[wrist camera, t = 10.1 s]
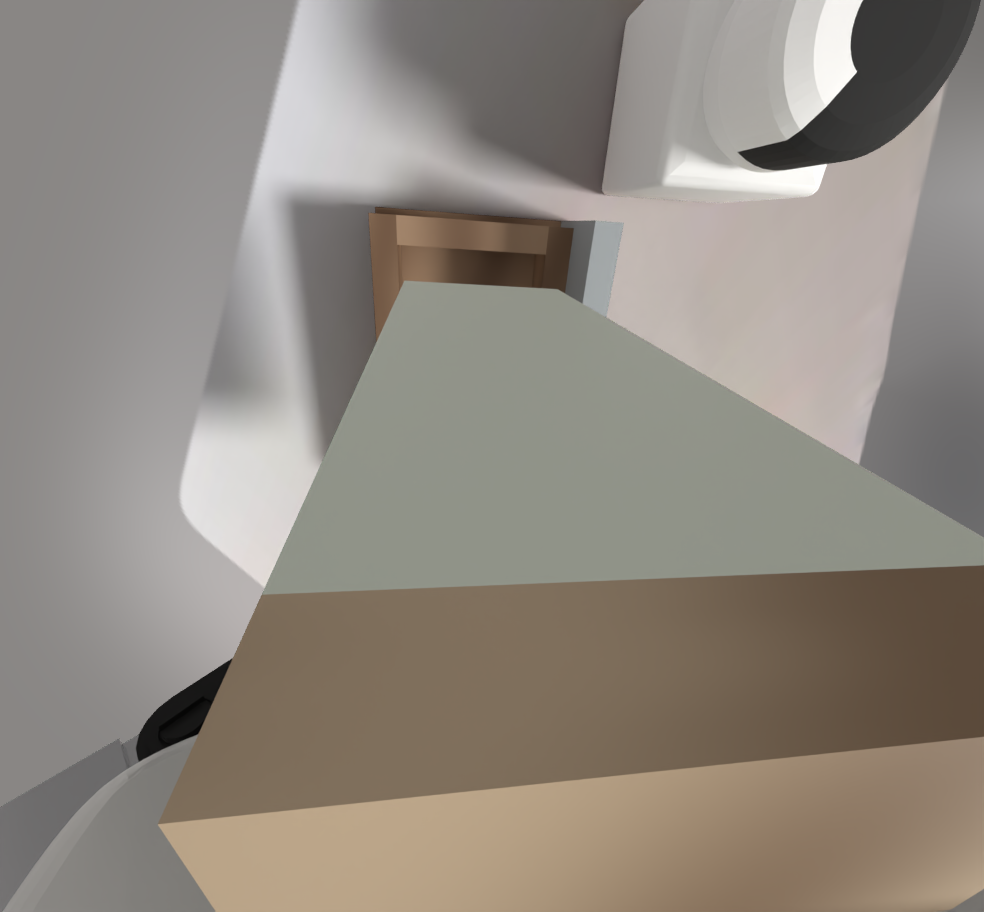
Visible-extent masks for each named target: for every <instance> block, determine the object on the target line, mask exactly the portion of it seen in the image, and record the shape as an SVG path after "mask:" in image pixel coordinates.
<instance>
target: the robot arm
mask: <svg viewBox="0 0 984 912" xmlns="http://www.w3.org/2000/svg"><path fill="white" fill-rule="evenodd" d="M232 659H233V658H232ZM232 659H231V660H230V661H228V662H226V663H224V664H223V665H221V666H220V667H218V668H217V669H215V670H214V671H212V672H211V673H209V674H208V675H206V676H204V677H203V678H201V679H200V680H198V681H197V682H195V683H194V684H192V685H190V686H189V687H187V688H186V689H184V690H183V691H181V692H180V693H178V694H177V695H175V696H173V697H172V698H171V699H169V700H168V701H167V702H165V703H164V704H163V705H162V706H160V707H159V708H158V709H157V710H156V711H155V712H154V713H153V715H152V716H151V717H150V718H149V719H148V720H147V722H146V723H145V725H144V727H143V729H142V730H141V732H140V734H139V735H137V736H135V737H133V738H132V739H130V740H128V741H127V742H125V743H123V744H122V742H121V741H120V739H117V740H116V741H114V742H112V743H110V744H108V745H107V746H105V747H103V748H102V749H100V750H98V751H96V752H95V753H93V754H91V755H89V756H88V757H86V758H84V759H82V760H81V761H79V762H77V763H76V764H74V765H72V766H70V767H69V768H67V769H65V770H63V771H62V772H60V773H58V774H56V775H55V776H53V777H51V778H49V779H48V780H46V781H44V782H42V783H41V784H39V785H37V786H36V787H34V788H32V789H30V790H29V791H27V792H25V793H23V794H22V795H20V796H18V797H16V798H15V799H13V800H11V801H9V802H8V803H6V804H4V805H3V806H1V807H0V912H216V911H215V910H214V908H213V907H212V905H211V904H210V902H209V901H208V899H207V898H206V896H205V895H204V893H203V892H202V890H201V889H200V887H199V886H198V884H197V883H196V881H195V880H194V878H193V877H192V875H191V874H190V872H189V871H188V869H187V868H186V866H185V865H184V863H183V862H182V860H181V859H180V857H179V856H178V854H177V853H176V851H175V850H174V848H173V847H172V845H171V844H170V842H169V841H168V839H167V838H166V836H165V835H164V833H163V832H162V830H161V829H160V827H159V826H158V822H159V820H160V818H161V816H162V814H163V811H164V809H165V807H166V805H167V803H168V800H169V798H170V796H171V794H172V792H173V789H174V787H175V785H176V783H177V781H178V778H179V776H180V774H181V772H182V769H183V767H184V765H185V763H186V761H187V758H188V756H189V754H190V752H191V750H192V747H193V745H194V743H195V741H196V739H197V736H198V734H199V732H200V730H201V728H202V725H203V723H204V721H205V719H206V717H207V714H208V712H209V710H210V708H211V706H212V703H213V701H214V699H215V697H216V695H217V692H218V690H219V688H220V686H221V684H222V681H223V679H224V677H225V675H226V673H227V670H228V668H229V666H230V664H231V662H232ZM938 912H984V889H983V890H981V891H980V892H978V893H976V894H975V895H973V896H972V897H970V898H969V899H967V900H965V901H964V902H962V903H961V904H959V905H957V906H956V907H954V908H953V909H950V910H944V911H938Z"/></svg>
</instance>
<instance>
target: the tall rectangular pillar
mask: <svg viewBox="0 0 984 912" xmlns="http://www.w3.org/2000/svg"><path fill="white" fill-rule="evenodd" d="M158 826H159V827H160V829H161V830H162V832H163V833H164V835H165V836H166V838H167V839H168V841H169V842H170V844H171V845H172V847H173V848H174V850H175V851H176V853H177V854H178V856H179V857H180V859H181V860H182V862H183V863H184V865H185V866H186V868H187V869H188V871H189V872H190V874H191V875H192V877H193V878H194V880H195V881H196V883H197V884H198V886H199V887H200V889H201V890H202V892H203V893H204V895H205V896H206V898H207V899H208V901H209V902H210V904H211V905H212V907H213V908H214V910H215V911H216V912H938V911H944V910H950V909H953V908H954V907H956V906H957V905H959V904H961V903H962V902H964V901H965V900H967V899H969V898H970V897H972V896H973V895H975V894H976V893H978V892H980V891H981V890H983V889H984V538H983V537H982V536H980V535H978V534H977V533H975V532H973V531H971V530H970V529H968V528H966V527H964V526H963V525H961V524H959V523H958V522H956V521H954V520H953V519H950V518H949V517H947V516H945V515H944V514H942V513H941V512H939V511H937V510H935V509H934V508H932V507H930V506H928V505H927V504H925V503H923V502H922V501H920V500H918V499H917V498H915V497H913V496H911V495H910V494H908V493H906V492H905V491H903V490H901V489H899V488H898V487H896V486H894V485H893V484H891V483H889V482H887V481H886V480H884V479H882V478H881V477H879V476H877V475H875V474H873V473H872V472H870V471H869V470H867V469H865V468H863V467H862V466H860V465H858V464H857V463H855V462H853V461H851V460H850V459H848V458H846V457H845V456H843V455H841V454H839V453H838V452H836V451H834V450H833V449H831V448H829V447H827V446H826V445H824V444H822V443H821V442H819V441H817V440H815V439H814V438H812V437H810V436H809V435H807V434H805V433H803V432H802V431H800V430H798V429H797V428H795V427H793V426H791V425H790V424H788V423H786V422H785V421H783V420H781V419H779V418H778V417H776V416H774V415H772V414H771V413H769V412H767V411H766V410H764V409H762V408H760V407H759V406H757V405H755V404H754V403H752V402H750V401H748V400H747V399H745V398H743V397H742V396H740V395H738V394H736V393H735V392H733V391H731V390H730V389H728V388H726V387H724V386H723V385H721V384H719V383H718V382H716V381H714V380H712V379H711V378H709V377H707V376H706V375H704V374H702V373H700V372H699V371H697V370H695V369H694V368H692V367H690V366H688V365H687V364H685V363H683V362H682V361H680V360H678V359H676V358H675V357H673V356H671V355H670V354H668V353H666V352H664V351H663V350H661V349H659V348H658V347H656V346H654V345H652V344H651V343H649V342H647V341H646V340H644V339H642V338H640V337H639V336H637V335H635V334H634V333H632V332H630V331H628V330H627V329H625V328H623V327H622V326H620V325H618V324H616V323H615V322H613V321H611V320H610V319H608V318H606V317H604V316H603V315H601V314H599V313H598V312H596V311H594V310H592V309H591V308H589V307H587V306H586V305H584V304H582V303H580V302H579V301H577V300H575V299H574V298H572V297H570V296H568V295H567V294H565V293H563V292H562V291H560V290H558V289H546V288H528V287H509V286H491V285H473V284H455V283H437V282H419V281H404V283H403V285H402V287H401V289H400V292H399V294H398V296H397V298H396V300H395V303H394V305H393V307H392V309H391V311H390V314H389V316H388V318H387V320H386V322H385V325H384V327H383V329H382V331H381V333H380V336H379V338H378V340H377V342H376V344H375V347H374V349H373V351H372V353H371V355H370V358H369V360H368V362H367V364H366V366H365V369H364V371H363V373H362V375H361V377H360V380H359V382H358V384H357V386H356V388H355V391H354V393H353V395H352V397H351V399H350V402H349V404H348V406H347V408H346V411H345V413H344V415H343V417H342V419H341V422H340V424H339V426H338V428H337V430H336V433H335V435H334V437H333V439H332V441H331V444H330V446H329V448H328V450H327V452H326V455H325V457H324V459H323V461H322V463H321V466H320V468H319V470H318V472H317V474H316V477H315V479H314V481H313V483H312V485H311V488H310V490H309V492H308V494H307V496H306V499H305V501H304V503H303V505H302V507H301V510H300V512H299V514H298V516H297V518H296V521H295V523H294V525H293V527H292V529H291V532H290V534H289V536H288V538H287V540H286V543H285V545H284V547H283V549H282V551H281V554H280V556H279V558H278V560H277V562H276V565H275V567H274V569H273V571H272V573H271V576H270V578H269V580H268V582H267V584H266V587H265V589H264V591H263V593H262V596H261V598H260V600H259V602H258V604H257V607H256V609H255V611H254V613H253V615H252V618H251V620H250V622H249V624H248V626H247V629H246V631H245V633H244V635H243V638H242V640H241V642H240V644H239V646H238V648H237V651H236V653H235V655H234V657H233V659H232V662H231V664H230V666H229V668H228V670H227V673H226V675H225V677H224V679H223V681H222V684H221V686H220V688H219V690H218V692H217V695H216V697H215V699H214V701H213V703H212V706H211V708H210V710H209V712H208V714H207V717H206V719H205V721H204V723H203V725H202V728H201V730H200V732H199V734H198V736H197V739H196V741H195V743H194V745H193V747H192V750H191V752H190V754H189V756H188V758H187V761H186V763H185V765H184V767H183V769H182V772H181V774H180V776H179V778H178V781H177V783H176V785H175V787H174V789H173V792H172V794H171V796H170V798H169V800H168V803H167V805H166V807H165V809H164V811H163V814H162V816H161V818H160V820H159V822H158Z"/></svg>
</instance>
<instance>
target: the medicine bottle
mask: <svg viewBox="0 0 984 912" xmlns="http://www.w3.org/2000/svg"><path fill="white" fill-rule="evenodd" d="M980 1H981V0H644V1H643V2H642V3H641V4H640V5H639V6H638V8H637V9H636V10H635V11H634V12H633V13H632V14H631V15H630V16H629V17H628V19H627V22H626V25H625V31H624V38H623V45H622V52H621V59H620V66H619V73H618V80H617V87H616V94H615V100H614V107H613V114H612V121H611V128H610V135H609V142H608V149H607V156H606V163H605V170H604V176H603V183H602V192H603V193H604V194H605V195H607V196H619V197H633V198H648V199H663V200H678V201H693V202H708V203H728V202H742V201H755V200H769V199H783V198H796V197H807V196H810V195H812V194H814V193H815V192H816V191H817V190H818V188H819V186H820V183H821V180H822V177H823V174H824V171H825V168H826V166H827V164H829V163H836V162H842V161H847V160H852V159H855V158H858V157H861V156H864V155H866V154H868V153H870V152H872V151H874V150H876V149H878V148H880V147H881V146H883V145H885V144H886V143H888V142H889V141H891V140H892V139H893V138H895V137H896V136H897V135H898V134H899V133H901V132H902V131H903V130H904V129H905V128H906V127H907V126H909V125H910V124H911V123H912V122H913V121H914V120H915V119H916V118H917V117H918V115H919V114H920V113H921V112H922V111H923V110H924V108H925V107H926V106H927V105H928V104H929V103H930V101H931V100H932V99H933V98H934V96H935V95H936V94H937V92H938V91H939V89H940V88H941V87H942V85H943V84H944V83H945V81H946V80H947V78H948V77H949V75H950V73H951V72H952V70H953V68H954V67H955V65H956V63H957V61H958V59H959V57H960V55H961V53H962V51H963V49H964V47H965V45H966V43H967V41H968V38H969V36H970V33H971V31H972V28H973V26H974V22H975V19H976V16H977V13H978V9H979V6H980Z"/></svg>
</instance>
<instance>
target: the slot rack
mask: <svg viewBox="0 0 984 912" xmlns="http://www.w3.org/2000/svg"><path fill="white" fill-rule="evenodd" d="M368 214H369V230H370V247H371V263H372V279H373V295H374V312H375V328H376V342H377V340H378V338H379V336H380V333H381V331H382V329H383V327H384V325H385V322H386V320H387V318H388V316H389V314H390V311H391V309H392V307H393V305H394V303H395V300H396V298H397V296H398V294H399V292H400V289H401V287H402V285H403V283H404V281H419V282H437V283H455V284H473V285H491V286H509V287H528V288H546V289H558V290H560V291H562V292H563V293H565V294H567V295H568V296H570V297H572V298H574V299H575V300H577V301H579V302H580V303H582V304H584V305H586V306H587V307H589V308H591V309H592V310H594V311H596V312H598V313H599V314H601V315H603V316H604V317H606V316H607V311H608V306H609V300H610V295H611V289H612V284H613V278H614V273H615V268H616V262H617V257H618V251H619V246H620V240H621V235H622V230H623V224H624V223H619V222H607V221H551V220H538V219H525V218H512V217H499V216H486V215H474V214H461V213H448V212H435V211H422V210H409V209H396V208H383V207H375V213H368Z"/></svg>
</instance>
